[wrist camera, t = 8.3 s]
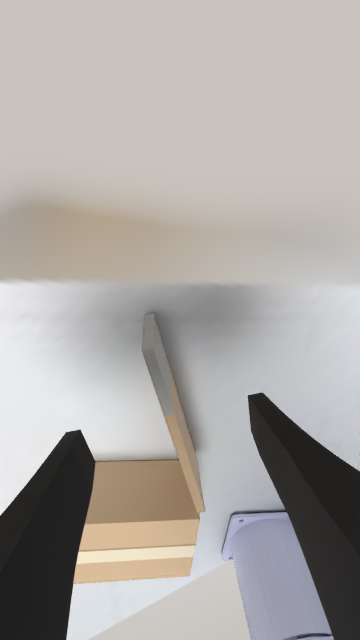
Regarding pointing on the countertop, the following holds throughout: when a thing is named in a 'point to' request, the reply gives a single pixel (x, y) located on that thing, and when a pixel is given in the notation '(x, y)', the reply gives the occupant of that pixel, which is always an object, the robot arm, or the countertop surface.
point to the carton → (137, 523)
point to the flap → (171, 407)
